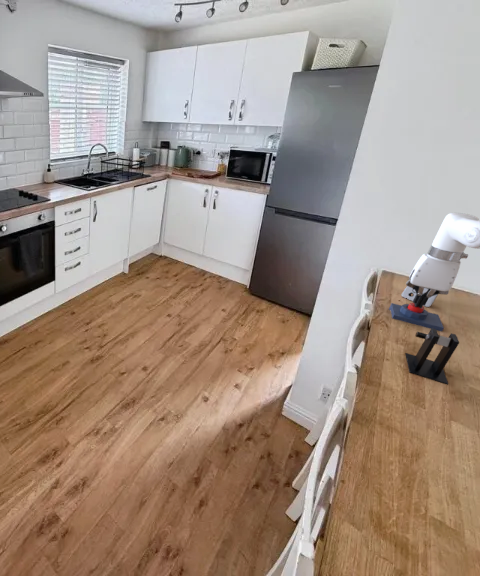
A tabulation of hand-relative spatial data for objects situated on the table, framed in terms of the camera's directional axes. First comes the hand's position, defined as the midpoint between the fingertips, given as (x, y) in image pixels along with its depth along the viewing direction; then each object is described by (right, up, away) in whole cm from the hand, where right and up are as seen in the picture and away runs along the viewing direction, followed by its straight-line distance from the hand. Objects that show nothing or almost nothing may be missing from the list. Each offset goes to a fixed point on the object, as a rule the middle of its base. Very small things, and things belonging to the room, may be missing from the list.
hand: (417, 305), depth 121 cm
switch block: (+1, -5, +2) cm, 6 cm away
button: (0, -2, +1) cm, 2 cm away
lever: (-15, -9, -22) cm, 28 cm away
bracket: (-17, -17, -22) cm, 32 cm away
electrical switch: (+13, +1, +15) cm, 20 cm away
